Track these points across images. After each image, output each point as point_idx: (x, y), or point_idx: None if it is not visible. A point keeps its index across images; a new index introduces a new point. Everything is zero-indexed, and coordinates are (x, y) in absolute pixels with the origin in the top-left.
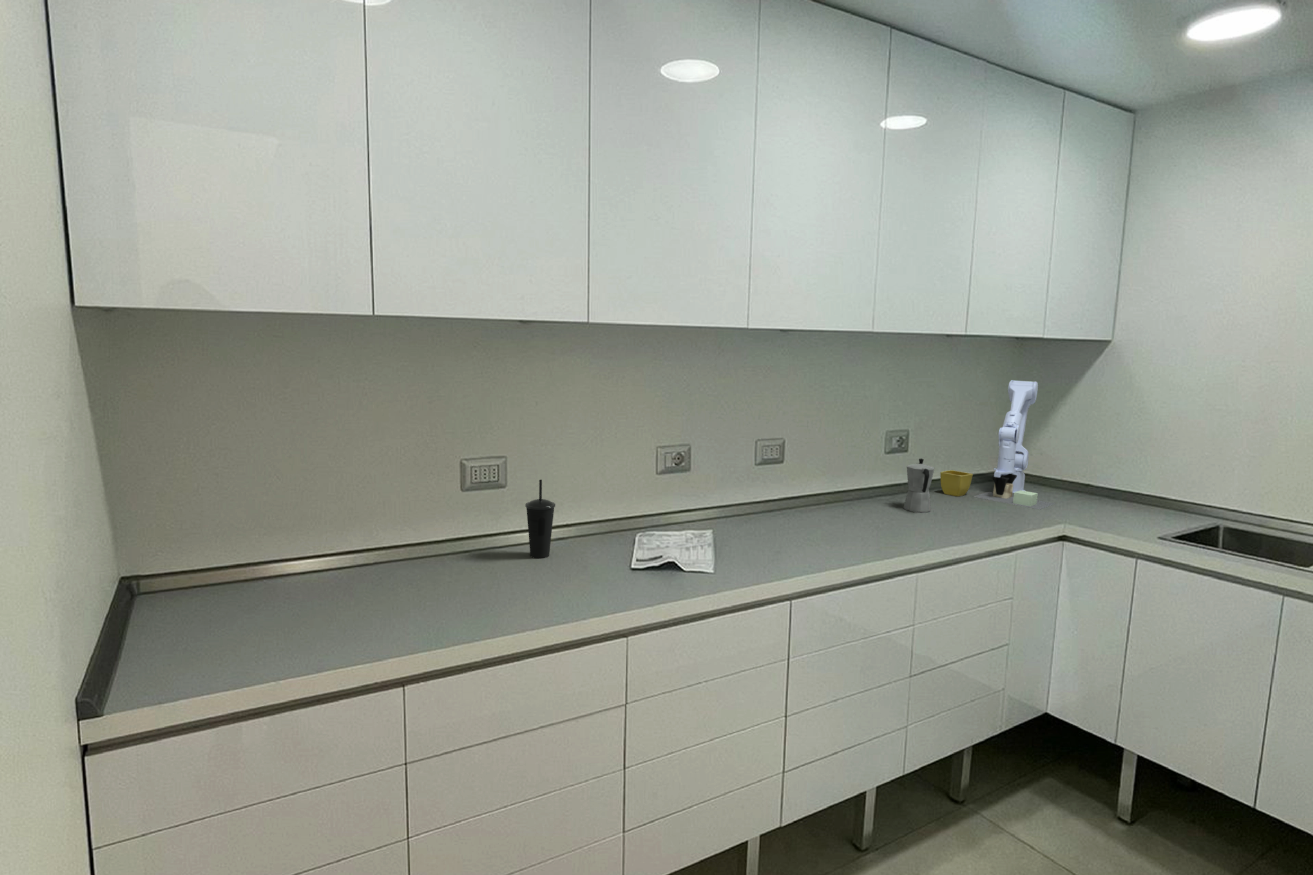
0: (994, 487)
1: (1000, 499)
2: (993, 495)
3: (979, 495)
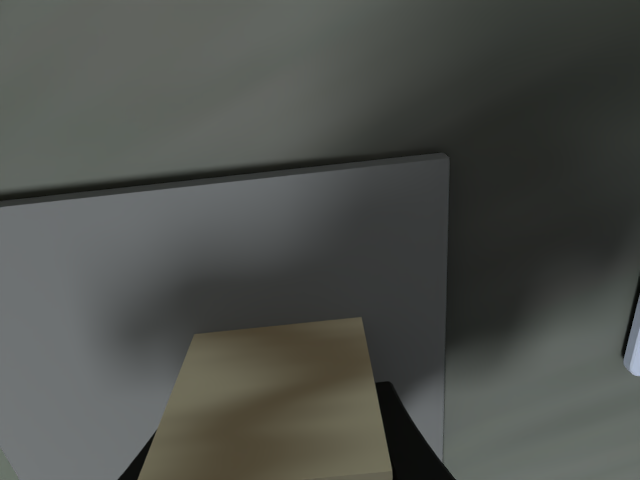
0: (158, 436)
1: (123, 443)
2: (191, 345)
3: (40, 232)
